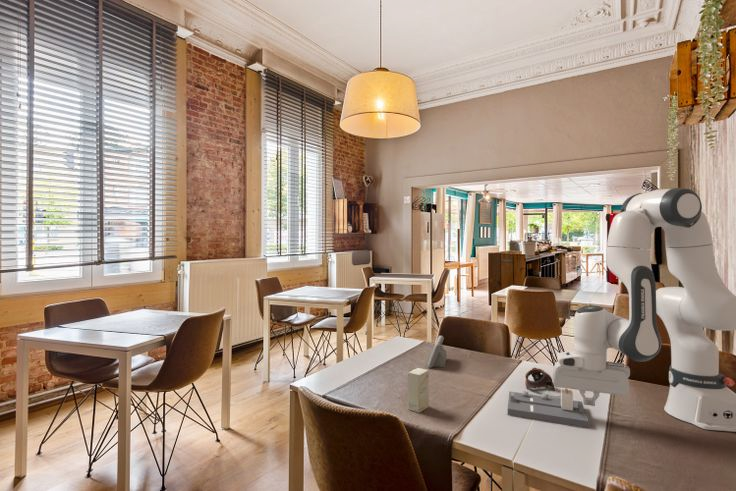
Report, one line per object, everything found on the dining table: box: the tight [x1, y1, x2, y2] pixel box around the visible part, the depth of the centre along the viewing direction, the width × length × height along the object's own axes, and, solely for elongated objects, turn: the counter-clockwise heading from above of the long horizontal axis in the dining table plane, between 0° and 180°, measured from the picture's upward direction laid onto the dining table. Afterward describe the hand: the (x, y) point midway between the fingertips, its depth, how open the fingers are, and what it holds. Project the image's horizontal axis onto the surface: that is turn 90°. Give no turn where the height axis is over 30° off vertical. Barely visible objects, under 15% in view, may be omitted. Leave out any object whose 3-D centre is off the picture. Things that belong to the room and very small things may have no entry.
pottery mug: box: [524, 367, 555, 392], centre depth 140 cm, size 12×10×8 cm
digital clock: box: [426, 335, 447, 369], centre depth 167 cm, size 16×9×11 cm, turn 151°
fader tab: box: [560, 387, 574, 411], centre depth 119 cm, size 3×4×5 cm
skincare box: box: [407, 367, 430, 414], centre depth 124 cm, size 6×4×12 cm
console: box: [507, 390, 589, 429], centre depth 121 cm, size 22×14×4 cm, turn 67°
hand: (589, 404), depth 117 cm, fingers closed
